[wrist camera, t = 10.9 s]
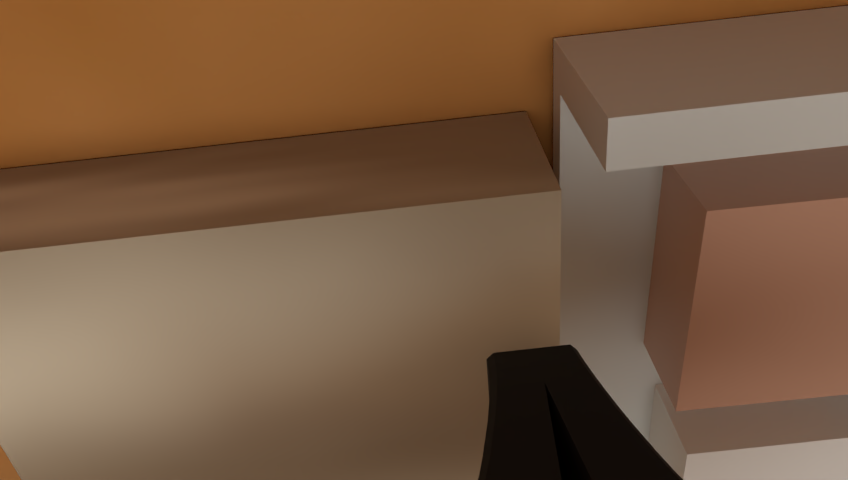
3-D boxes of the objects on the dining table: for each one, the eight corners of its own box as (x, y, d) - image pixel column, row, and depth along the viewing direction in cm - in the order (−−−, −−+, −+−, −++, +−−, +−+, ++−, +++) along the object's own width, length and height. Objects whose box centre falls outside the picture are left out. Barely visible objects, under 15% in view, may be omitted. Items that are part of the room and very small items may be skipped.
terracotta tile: (675, 411, 14) (643, 343, 16) (907, 388, 14) (849, 322, 16) (707, 211, 11) (664, 155, 13) (987, 184, 11) (909, 132, 13)
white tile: (666, 582, 17) (640, 510, 19) (855, 562, 17) (812, 492, 19) (686, 454, 15) (654, 385, 16) (908, 431, 15) (853, 363, 16)
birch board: (533, 520, 20) (556, 629, 17) (170, 559, 20) (140, 674, 17) (526, 111, 13) (561, 190, 11) (-17, 171, 13) (-110, 264, 11)
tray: (826, 517, 20) (902, 643, 17) (551, 547, 20) (580, 677, 17) (1003, -13, 12) (1198, 53, 9) (553, 38, 12) (608, 118, 9)
